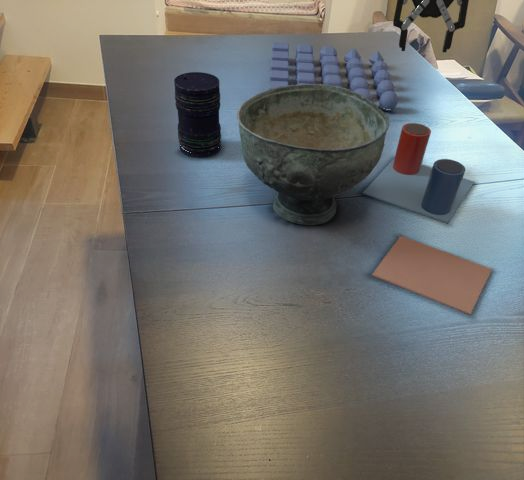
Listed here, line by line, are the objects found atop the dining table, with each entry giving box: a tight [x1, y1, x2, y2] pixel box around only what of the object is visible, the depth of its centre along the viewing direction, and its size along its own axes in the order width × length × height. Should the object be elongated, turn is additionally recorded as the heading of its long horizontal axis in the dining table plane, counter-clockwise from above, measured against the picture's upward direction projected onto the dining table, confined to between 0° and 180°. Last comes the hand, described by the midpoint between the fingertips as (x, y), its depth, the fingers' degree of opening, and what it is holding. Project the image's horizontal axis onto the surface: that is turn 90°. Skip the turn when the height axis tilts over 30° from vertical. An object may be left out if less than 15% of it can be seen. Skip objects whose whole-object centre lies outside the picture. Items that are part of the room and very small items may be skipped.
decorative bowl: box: [236, 83, 390, 226], centre depth 98 cm, size 26×26×20 cm
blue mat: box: [362, 158, 475, 224], centre depth 112 cm, size 19×19×1 cm
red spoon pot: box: [393, 122, 432, 175], centre depth 114 cm, size 6×6×9 cm
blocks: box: [268, 41, 399, 112], centre depth 146 cm, size 35×34×5 cm
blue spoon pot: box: [421, 158, 466, 215], centre depth 103 cm, size 6×6×9 cm
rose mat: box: [371, 235, 493, 316], centre depth 93 cm, size 18×14×1 cm
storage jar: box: [173, 71, 222, 159], centre depth 114 cm, size 10×10×15 cm
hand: (423, 51), depth 108 cm, fingers open, 8 cm apart
